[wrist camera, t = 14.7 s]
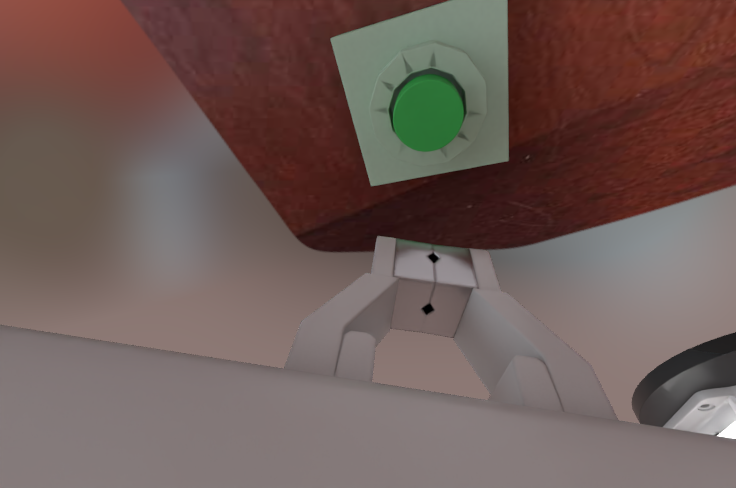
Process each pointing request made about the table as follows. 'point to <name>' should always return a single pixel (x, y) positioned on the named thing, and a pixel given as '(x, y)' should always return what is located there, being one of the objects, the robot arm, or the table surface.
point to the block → (429, 56)
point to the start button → (428, 113)
